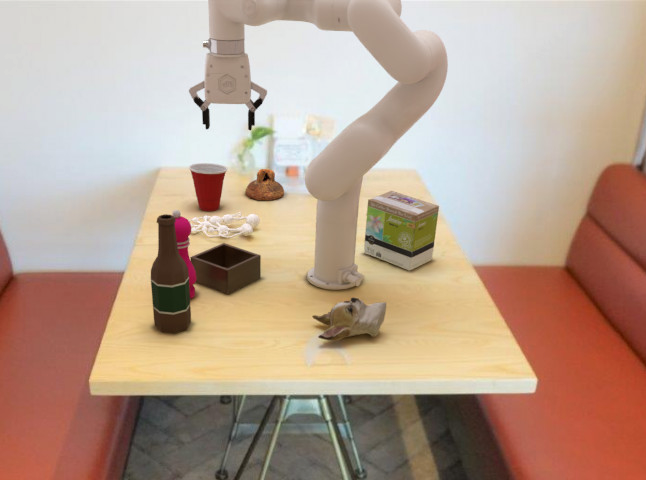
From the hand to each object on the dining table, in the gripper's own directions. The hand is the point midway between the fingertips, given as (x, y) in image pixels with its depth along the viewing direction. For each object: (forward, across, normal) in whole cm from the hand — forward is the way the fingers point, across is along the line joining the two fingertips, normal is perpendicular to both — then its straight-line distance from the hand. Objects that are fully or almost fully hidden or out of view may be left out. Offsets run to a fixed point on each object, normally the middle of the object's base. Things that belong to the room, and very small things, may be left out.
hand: (228, 128), depth 182 cm
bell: (+32, +7, +51) cm, 61 cm away
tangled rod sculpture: (+32, -3, +19) cm, 38 cm away
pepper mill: (+32, -10, -20) cm, 40 cm away
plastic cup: (+32, -9, +38) cm, 51 cm away
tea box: (+32, +42, +4) cm, 53 cm away
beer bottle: (+32, -10, -35) cm, 49 cm away
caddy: (+32, -1, -11) cm, 34 cm away
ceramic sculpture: (+32, +27, -38) cm, 57 cm away
